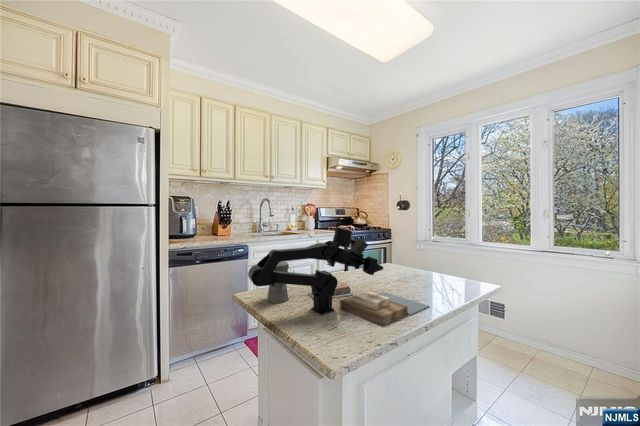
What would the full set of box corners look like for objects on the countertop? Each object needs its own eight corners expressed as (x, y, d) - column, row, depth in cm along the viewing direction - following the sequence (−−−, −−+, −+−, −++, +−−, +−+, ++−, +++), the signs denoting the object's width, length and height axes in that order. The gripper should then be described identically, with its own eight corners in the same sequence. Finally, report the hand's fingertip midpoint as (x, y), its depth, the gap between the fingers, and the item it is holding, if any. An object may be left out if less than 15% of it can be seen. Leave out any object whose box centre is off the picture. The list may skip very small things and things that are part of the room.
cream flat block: (375, 310, 90) (375, 302, 90) (354, 302, 98) (354, 295, 98) (390, 304, 95) (390, 298, 95) (368, 297, 103) (368, 291, 103)
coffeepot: (272, 294, 117) (272, 253, 117) (292, 295, 116) (292, 254, 115) (259, 306, 102) (259, 260, 101) (282, 308, 100) (282, 261, 100)
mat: (410, 315, 93) (410, 314, 93) (363, 299, 110) (363, 298, 110) (429, 307, 101) (429, 305, 101) (383, 293, 118) (383, 291, 118)
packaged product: (342, 280, 124) (353, 285, 115) (342, 290, 124) (353, 296, 115) (306, 284, 117) (315, 290, 108) (306, 295, 117) (315, 302, 108)
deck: (383, 325, 85) (383, 316, 85) (340, 307, 101) (340, 300, 100) (407, 314, 94) (407, 306, 94) (365, 299, 109) (365, 292, 109)
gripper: (364, 241, 94) (396, 251, 100) (339, 233, 111) (368, 242, 117) (355, 271, 93) (388, 279, 100) (331, 259, 110) (361, 266, 117)
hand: (376, 265), depth 108 cm, fingers open, 9 cm apart
